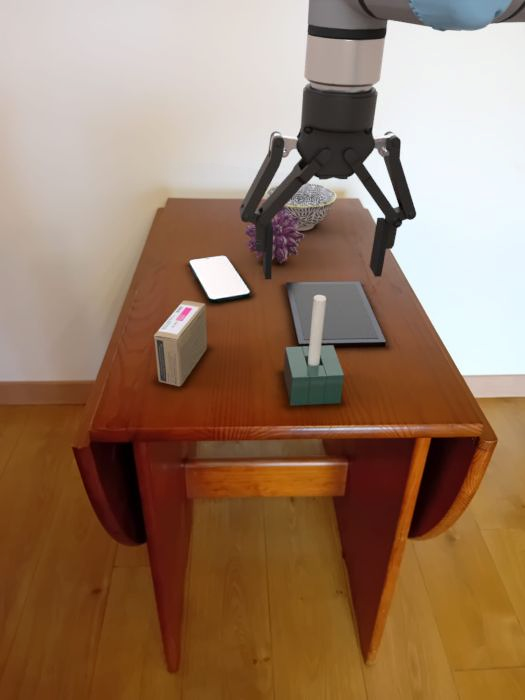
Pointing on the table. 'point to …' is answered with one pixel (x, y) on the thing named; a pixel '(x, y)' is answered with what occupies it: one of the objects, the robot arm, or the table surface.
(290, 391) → the pen block
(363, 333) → the tablet
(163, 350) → the ink box
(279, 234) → the flower
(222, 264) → the smartphone
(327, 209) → the bowl
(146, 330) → the table surface
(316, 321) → the stylus
